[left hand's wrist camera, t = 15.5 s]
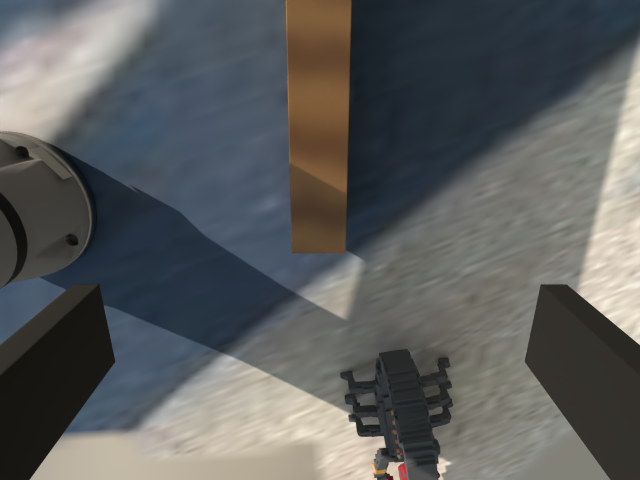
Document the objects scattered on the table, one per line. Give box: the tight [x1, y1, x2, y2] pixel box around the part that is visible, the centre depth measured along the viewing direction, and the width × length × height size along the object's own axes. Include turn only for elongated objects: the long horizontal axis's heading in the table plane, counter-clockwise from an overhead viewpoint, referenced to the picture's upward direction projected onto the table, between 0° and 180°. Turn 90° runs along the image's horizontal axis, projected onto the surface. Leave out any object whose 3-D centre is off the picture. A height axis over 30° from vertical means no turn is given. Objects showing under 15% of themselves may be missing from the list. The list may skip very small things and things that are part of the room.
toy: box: [340, 349, 453, 480], centre depth 45 cm, size 13×27×18 cm, turn 10°
